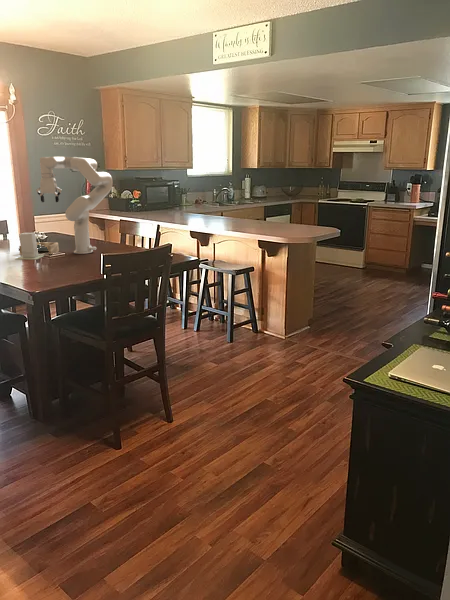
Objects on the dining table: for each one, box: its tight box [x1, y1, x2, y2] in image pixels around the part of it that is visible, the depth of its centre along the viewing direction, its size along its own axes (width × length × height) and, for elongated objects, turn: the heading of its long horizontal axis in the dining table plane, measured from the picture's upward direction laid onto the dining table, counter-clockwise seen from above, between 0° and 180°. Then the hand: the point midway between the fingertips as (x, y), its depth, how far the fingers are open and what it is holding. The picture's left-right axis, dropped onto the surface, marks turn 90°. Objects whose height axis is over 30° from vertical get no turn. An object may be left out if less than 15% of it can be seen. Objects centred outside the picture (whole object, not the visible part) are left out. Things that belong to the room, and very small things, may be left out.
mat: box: [15, 254, 45, 261], centre depth 322 cm, size 14×12×1 cm
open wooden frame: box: [18, 242, 60, 256], centre depth 336 cm, size 21×14×6 cm, turn 88°
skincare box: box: [18, 231, 39, 258], centre depth 320 cm, size 8×7×16 cm
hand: (50, 202), depth 336 cm, fingers open, 9 cm apart
